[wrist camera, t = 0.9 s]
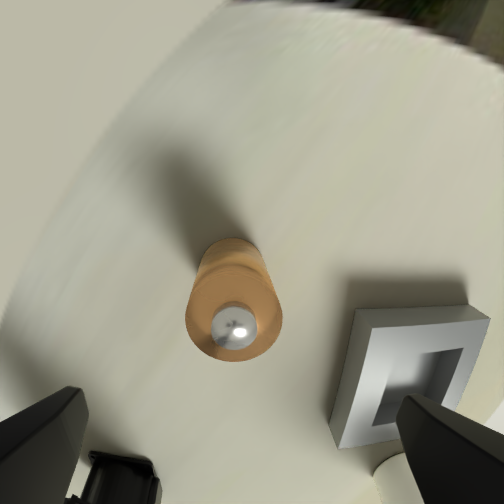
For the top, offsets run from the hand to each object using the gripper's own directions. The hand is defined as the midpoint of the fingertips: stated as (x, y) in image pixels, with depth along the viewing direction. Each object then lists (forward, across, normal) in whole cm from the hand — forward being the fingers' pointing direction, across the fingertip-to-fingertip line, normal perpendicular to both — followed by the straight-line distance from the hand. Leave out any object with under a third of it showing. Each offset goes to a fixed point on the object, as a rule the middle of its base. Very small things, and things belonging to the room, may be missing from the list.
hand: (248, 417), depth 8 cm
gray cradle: (+13, -14, +8) cm, 20 cm away
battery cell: (+13, 0, 0) cm, 13 cm away
